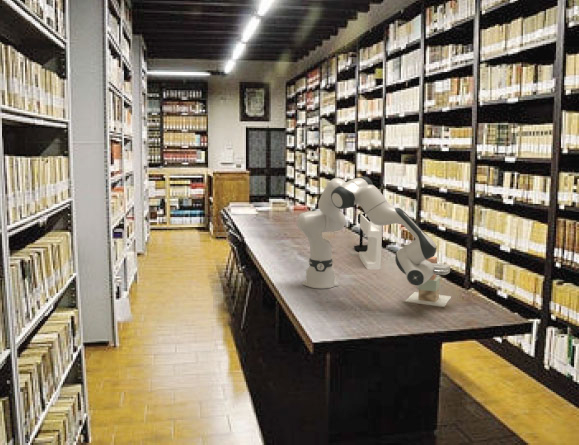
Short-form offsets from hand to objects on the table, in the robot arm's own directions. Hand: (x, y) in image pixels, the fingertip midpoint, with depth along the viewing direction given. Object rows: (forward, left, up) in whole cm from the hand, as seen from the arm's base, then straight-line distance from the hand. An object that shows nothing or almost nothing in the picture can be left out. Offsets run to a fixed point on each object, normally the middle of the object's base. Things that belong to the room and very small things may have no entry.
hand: (430, 264), depth 263 cm
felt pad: (+1, 0, -17) cm, 17 cm away
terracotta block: (+1, 0, -7) cm, 7 cm away
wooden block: (+1, 0, -17) cm, 17 cm away
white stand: (-77, -23, -17) cm, 82 cm away
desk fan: (-118, -22, -17) cm, 121 cm away
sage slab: (+1, 0, -12) cm, 12 cm away
